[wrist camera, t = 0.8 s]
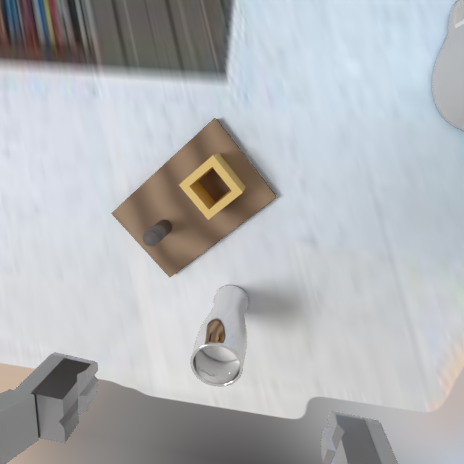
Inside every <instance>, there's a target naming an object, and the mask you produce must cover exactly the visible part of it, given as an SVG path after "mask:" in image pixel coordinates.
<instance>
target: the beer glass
mask: <svg viewBox="0 0 464 464" xmlns="http://www.w3.org/2000/svg"><path fill="white" fill-rule="evenodd" d="M248 304H249V300H248V296H247V294H246V293H245V291H244V290H242V289H241V288H239V287H237V286H233V285H227V286H223V287H221V288H220V289H218V290H217V292H216V293H215V296H214V306H213V308H212V310H211V312H210V313H209V314H208V316H207V317H206V319H205V320H204V322H203V324H202V325H201V327H200V330H199V332H198V335H197V338H196V341H195V345H194V349H193V353H192V356H191V368H192V371H193V372H194V374H195V375H196V376H197V378H199V379H200V380H201V381H203V382H204V383H206V384H209V385H212V386H219V387H221V386H228V385H231V384H233V383H234V382H236V381H237V380H238V379H239V378H240V376H241V374H242V371H243V364H244V360H245V355H246V349H247V329H246V322H245V312H246V310H247V308H248Z"/></svg>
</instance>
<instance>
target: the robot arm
mask: <svg viewBox="0 0 464 464" xmlns="http://www.w3.org/2000/svg"><path fill="white" fill-rule="evenodd" d="M432 93H433V98H434V101H435V104H436V107H437V109H438V110H439V112H440V114H441V115H442V116H443V118H444V119H445V120H446V121H448V122H449V123H450V124H451V125H453V126H454V127H456V128H458V129H461V130H463V131H464V0H458V1H457V2H456V3H455V4H454V5H453V7H452V9H451V12H450V17H449V25H448V34H447V37H446V40H445V42H444V44H443V46H442V48H441V50H440V53H439V55H438V57H437V60H436V63H435V66H434V70H433V76H432ZM97 371H98V364H97V362H95V361H90V360H86V359H82V358H78V357H74V356H70V355H65V354H60V353H56V352H55V353H53V354H51V355H50V356H48V357H47V358H46V359H45V360H44V361H43V362H42V363H41V364H40V365H39V366H38V367H37V368H36V369H35V370H34V371H33V372H32V373H31V374H30V375H29V376H28V377H27V378H26V379H25V380H24V381H23V382H22V383H21V384H20V385H19V386H18V387H17V388H16V389H15V390H11V389H9V390H7V391H5V392H3V393H0V464H6V463H7V462H9V461H10V460H12V459H13V458H14V457H16V456H17V455H18V454H20V453H21V452H23V451H24V450H26V449H27V448H28V447H30V446H31V445H32V444H34V443H35V442H37V441H38V440H39V438H41V439H46V440H51V441H56V442H62V443H66V441H67V440H68V438H69V437H70V435H71V434H72V432H73V431H74V429H75V428H76V426H77V425H78V423H79V415H80V414H82V413H84V412H85V411H87V409H88V408H89V407H90V405H91V404H92V402H93V400H94V397H95V395H96V392H97V387H98V380H97V378H96V377H95V373H96V372H97ZM327 420H328V424H329V426H328V427H326V428H325V429H324V430H323V433H322V438H321V454H322V460H323V463H324V464H398V462H397V460H396V458H395V455H394V453H393V451H392V448H391V446H390V443H389V441H388V439H387V436H386V434H385V432H384V430H383V427H382V425H381V423H380V422H379V421H378V420H373V419H368V418H363V417H359V416H354V415H349V414H344V413H339V412H334V411H331V412H330V413H329V416H328V419H327Z"/></svg>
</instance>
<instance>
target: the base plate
mask: <svg viewBox="0 0 464 464" xmlns="http://www.w3.org/2000/svg"><path fill="white" fill-rule="evenodd" d="M215 154H220V155H221V156H222V157H223V159H224V160H225V161H226V162H227V164H228V165H229V166H230V168H231V169H232V170H233V171H234V173H235V174H236V175H237V176H238V178H239V179H240V180H241V181H242V183H243V184H244V185H245V186H246V187H245V189H244V191H243V193H242V194H240V195H239V196H238V197H237V198H235V199H234V200H233V201H231V202H230V203H229V204H228V205H226V206H225V207H224V208H223V209H221V210H220V211H219V212H218V213H216V214H215V215H214V216H213V217H211V218H210V219H209V220H208V219H207V218H206V217H205V216H204V214H203V213H202V212H201V211H200V210H199V209H198V207H197V206H196V205H195V204H194V203H193V201H192V200H191V199H190V198H189V197H188V195H187V194H186V193H185V192H184V191H183V190H182V188H181V187H180V186H179V184H180V183H182V182H183V181H184V180H185V179H186V178H187V177H188V176H190V175H191V174H192V173H193V172H194V171H195V170H196V169H198V168H199V167H200V166H201V165H202V164H203V163H204V162H206V161H207V160H208V159H209V158H210V157H211V156H212V155H215ZM198 182H199V183H200V184H201V185H202V186H203V188H204V189H205V190H206V191H207V192H208V194H209V195H210V196H211V197H212V198H213V200H214V201H215V202H216V201H218V200H219V199H220V198H221V197H223V196H224V195H225V194H226V193H227V192H229V191H230V188H229V187H228V186H227V185H226V183H225V182H224V181H223V180H222V178H221V177H220V176H219V175H218V173H217V172H216V171H215V170H214V168H213V169H212V170H211V171H209V172H208V173H207V174H206V175H205V176H204V177H202V178H201V179H200V180H199V181H198ZM275 198H276V195H275V194H274V193H273V191H272V190H271V189H270V187H269V186H268V185H267V184H266V182H265V181H264V180H263V178H262V177H261V176H260V175H259V173H258V172H257V171H256V169H255V168H254V167H253V166H252V164H251V163H250V162H249V160H248V159H247V158H246V156H245V155H244V154H243V153H242V151H241V150H240V149H239V147H238V146H237V145H236V144H235V142H234V141H233V140H232V138H231V137H230V136H229V135H228V133H227V132H226V131H225V129H224V128H223V127H222V125H221V124H220V123H219V122H218V120H217V119H215V118H214V119H213V120H212V121H211V122H210V123H209V124H208V125H207V126H205V127H204V128H203V129H202V130H201V131H200V132H199V133H198V134H197V135H196V136H195V137H194V138H192V139H191V140H190V141H189V142H188V143H187V144H186V145H185V146H184V147H183V148H182V149H181V150H179V151H178V152H177V153H176V154H175V155H174V156H173V157H172V158H171V159H170V160H169V161H168V162H166V163H165V164H164V165H163V166H162V167H161V168H160V169H159V170H158V171H157V172H156V173H155V174H153V175H152V176H151V177H150V178H149V179H148V180H147V181H146V182H145V183H144V184H143V185H142V186H140V187H139V188H138V189H137V190H136V191H135V192H134V193H133V194H132V195H131V196H130V197H129V198H127V199H126V200H125V201H124V202H123V203H122V204H121V205H120V206H119V207H118V208H117V209H116V210H114V211H113V212H112V213H111V214H112V215H113V216H114V217H115V218H116V219H117V220H118V221H119V222H120V223H121V225H122V226H123V227H124V228H125V229H126V230H127V231H128V232H129V233H130V234H131V236H132V237H133V238H134V239H135V240H136V241H137V242H138V243H139V244H140V245H141V247H142V248H143V249H144V250H145V251H146V252H147V253H148V254H149V255H150V256H151V258H152V259H153V260H154V261H155V262H156V263H157V264H158V265H159V266H160V267H161V268H162V270H163V271H164V272H165V273H166V274H167V275H168V276H169V277H171V276H173V275H174V274H175V273H177V272H178V271H179V270H181V269H182V268H183V267H185V266H186V265H187V264H189V263H190V262H191V261H193V260H194V259H195V258H197V257H198V256H199V255H201V254H202V253H203V252H205V251H206V250H207V249H209V248H210V247H211V246H212V245H214V244H215V243H216V242H218V241H219V240H220V239H222V238H223V237H224V236H226V235H227V234H228V233H230V232H231V231H232V230H234V229H235V228H236V227H238V226H239V225H240V224H242V223H243V222H244V221H246V220H247V219H248V218H250V217H251V216H252V215H254V214H255V213H256V212H258V211H259V210H260V209H262V208H263V207H264V206H266V205H267V204H268V203H270V202H271V201H272V200H274V199H275Z"/></svg>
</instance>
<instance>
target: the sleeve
mask: <svg viewBox="0 0 464 464" xmlns="http://www.w3.org/2000/svg"><path fill="white" fill-rule="evenodd" d="M213 168H214V170H215V171H216V172H217V173H218V175H219V176H220V177H221V178H222V180H223V181H224V182H225V183H226V185H227V186H228V187H229V188H230V191H229V192H227V193H226V194H225V195H224V196H223V197H221V198H220V199H219V200H218V201H216V202H215V201H214V200H213V198H212V197H211V196H210V195H209V194H208V192H207V191H206V190H205V189H204V188H203V186H202V185H201V184H200V183H199V182H198V181H199V180H200V179H201V178H202V177H204V176H205V175H206V174H207V173H208V172H209V171H211V170H212V169H213ZM179 186H180V187H181V188H182V190H183V191H184V192H185V193H186V194H187V195H188V197H189V198H190V199H191V200H192V201H193V203H194V204H195V205H196V206H197V207H198V209H199V210H200V211H201V212H202V213H203V214H204V216H205V217H206V218H207V219H208V220H209V219H210V218H211V217H213V216H214V215H215V214H216V213H218V212H219V211H220V210H221V209H223V208H224V207H225V206H226V205H228V204H229V203H230V202H231V201H233V200H234V199H235V198H237V197H238V196H239V195H240V194H242V193H243V191H244V189H245V187H246V186H245V185H244V184H243V183H242V181H241V180H240V179H239V178H238V176H237V175H236V174H235V173H234V171H233V170H232V169H231V168H230V166H229V165H228V164H227V162H226V161H225V160H224V159H223V157H222V156H221V155H220V154H215V155H212V156H211V157H210V158H209V159H208V160H207V161H206V162H204V163H203V164H202V165H201V166H200V167H199V168H198V169H196V170H195V171H194V172H193V173H192V174H191V175H190V176H188V177H187V178H186V179H185V180H184V181H183V182H182V183H180V184H179Z"/></svg>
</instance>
